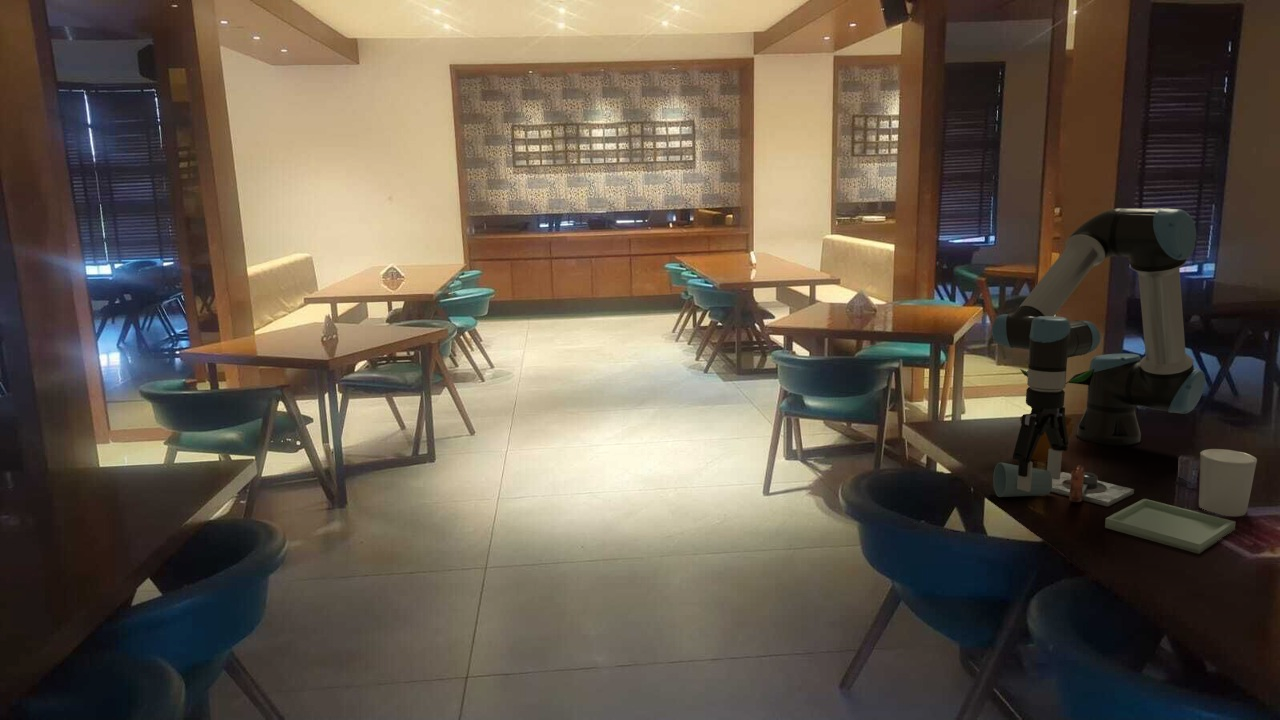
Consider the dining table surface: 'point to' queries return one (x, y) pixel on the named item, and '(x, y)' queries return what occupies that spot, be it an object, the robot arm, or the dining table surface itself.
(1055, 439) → the robot arm
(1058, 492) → the crank plate
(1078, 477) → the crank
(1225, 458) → the candle holder
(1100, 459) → the dining table surface
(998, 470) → the cup
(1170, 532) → the tray
